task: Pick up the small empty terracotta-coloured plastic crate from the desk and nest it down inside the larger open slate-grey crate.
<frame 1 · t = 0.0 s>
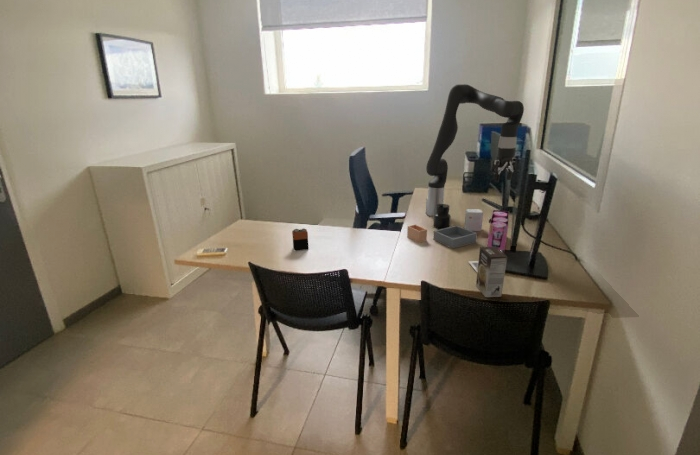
hand: (502, 180, 180), 29 cm above the table, tool pointing down, fingers open, 8 cm apart
coffee box: (488, 291, 141), on the table
ink bottle: (441, 226, 207), on the table
gum box: (496, 243, 184), on the table
touchpad: (483, 271, 157), on the table
crate: (454, 240, 188), on the table
battery: (300, 249, 181), on the table
small box: (472, 229, 203), on the table
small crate: (416, 239, 191), on the table
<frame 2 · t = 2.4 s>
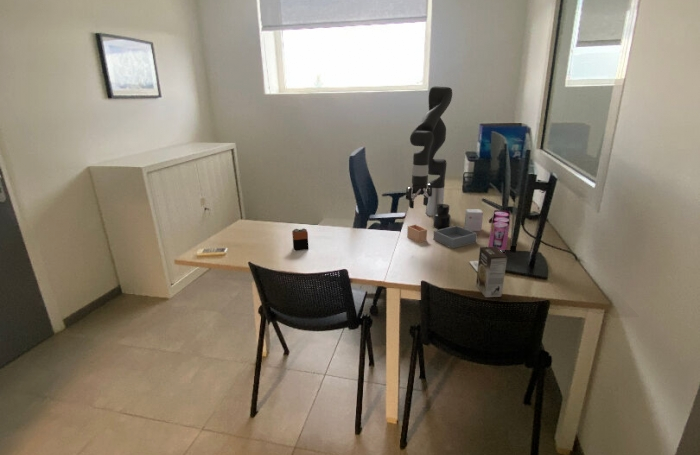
hand: (418, 206, 185), 17 cm above the table, tool pointing down, fingers open, 8 cm apart
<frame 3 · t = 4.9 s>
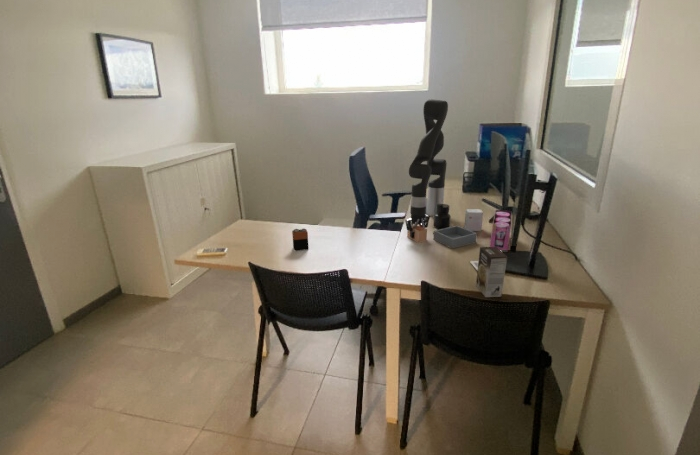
hand: (416, 236, 191), 1 cm above the table, tool pointing down, fingers closed on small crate, 5 cm apart
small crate: (416, 238, 191), on the table, touching gripper
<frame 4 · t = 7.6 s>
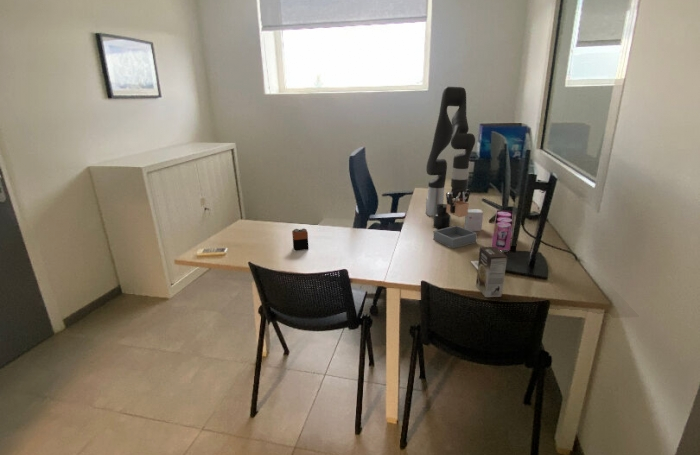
hand: (456, 211, 183), 15 cm above the table, tool pointing down, fingers closed on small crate, 5 cm apart
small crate: (456, 213, 183), point 14 cm above the table, touching gripper
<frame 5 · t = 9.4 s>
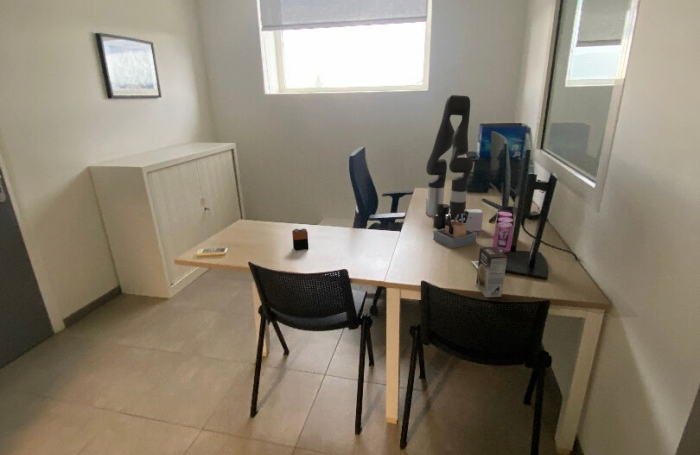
hand: (455, 232, 186), 4 cm above the table, tool pointing down, fingers closed on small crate, 5 cm apart
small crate: (455, 234, 186), point 3 cm above the table, touching gripper
when the fingers open (3 cm above the table, at t = 10.6 s): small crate drops 2 cm, resting on crate.
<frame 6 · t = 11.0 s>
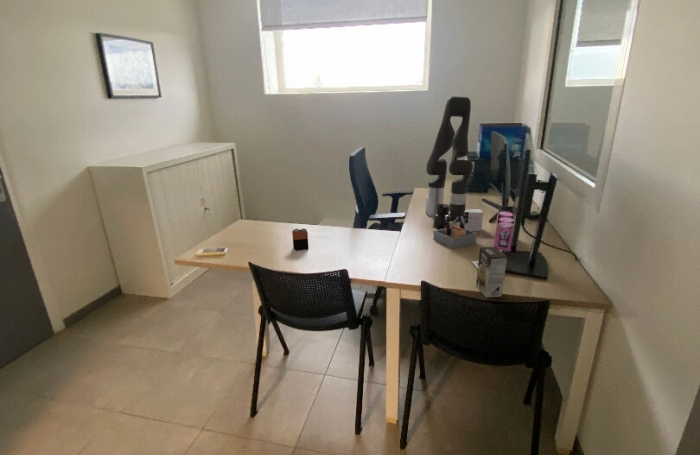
hand: (455, 233, 186), 4 cm above the table, tool pointing down, fingers open, 8 cm apart
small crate: (454, 239, 187), point 1 cm above the table, touching crate
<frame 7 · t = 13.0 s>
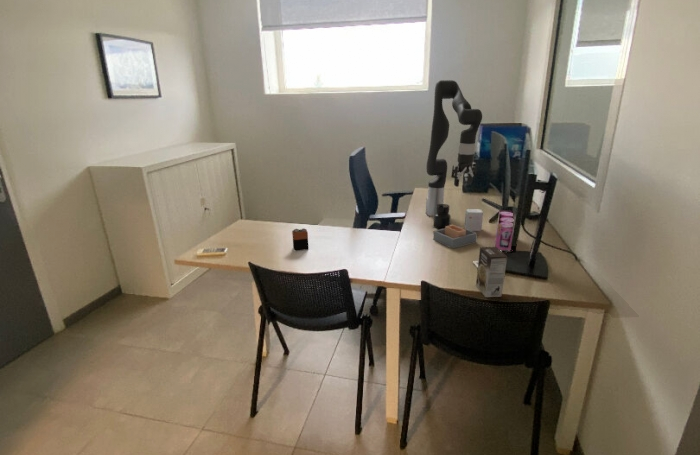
hand: (462, 185, 188), 26 cm above the table, tool pointing down, fingers open, 8 cm apart
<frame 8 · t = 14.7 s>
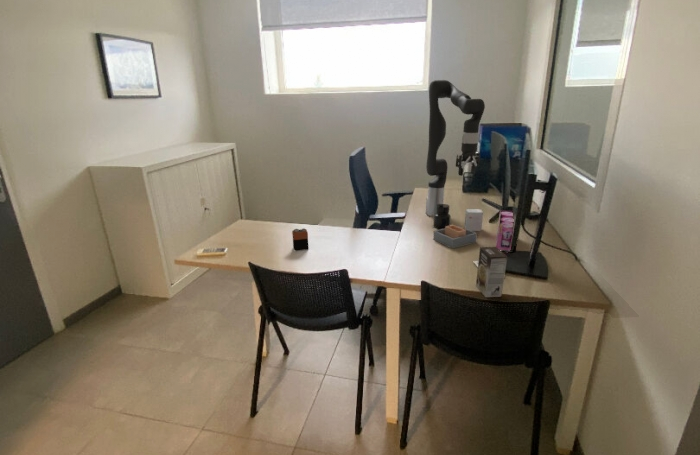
hand: (466, 174, 191), 30 cm above the table, tool pointing down, fingers open, 8 cm apart
at the end: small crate inside the target area on the crate (0.0 cm from its centre), point 0.6 cm above the crate's base; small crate tilted 0°; the gripper is holding nothing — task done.
